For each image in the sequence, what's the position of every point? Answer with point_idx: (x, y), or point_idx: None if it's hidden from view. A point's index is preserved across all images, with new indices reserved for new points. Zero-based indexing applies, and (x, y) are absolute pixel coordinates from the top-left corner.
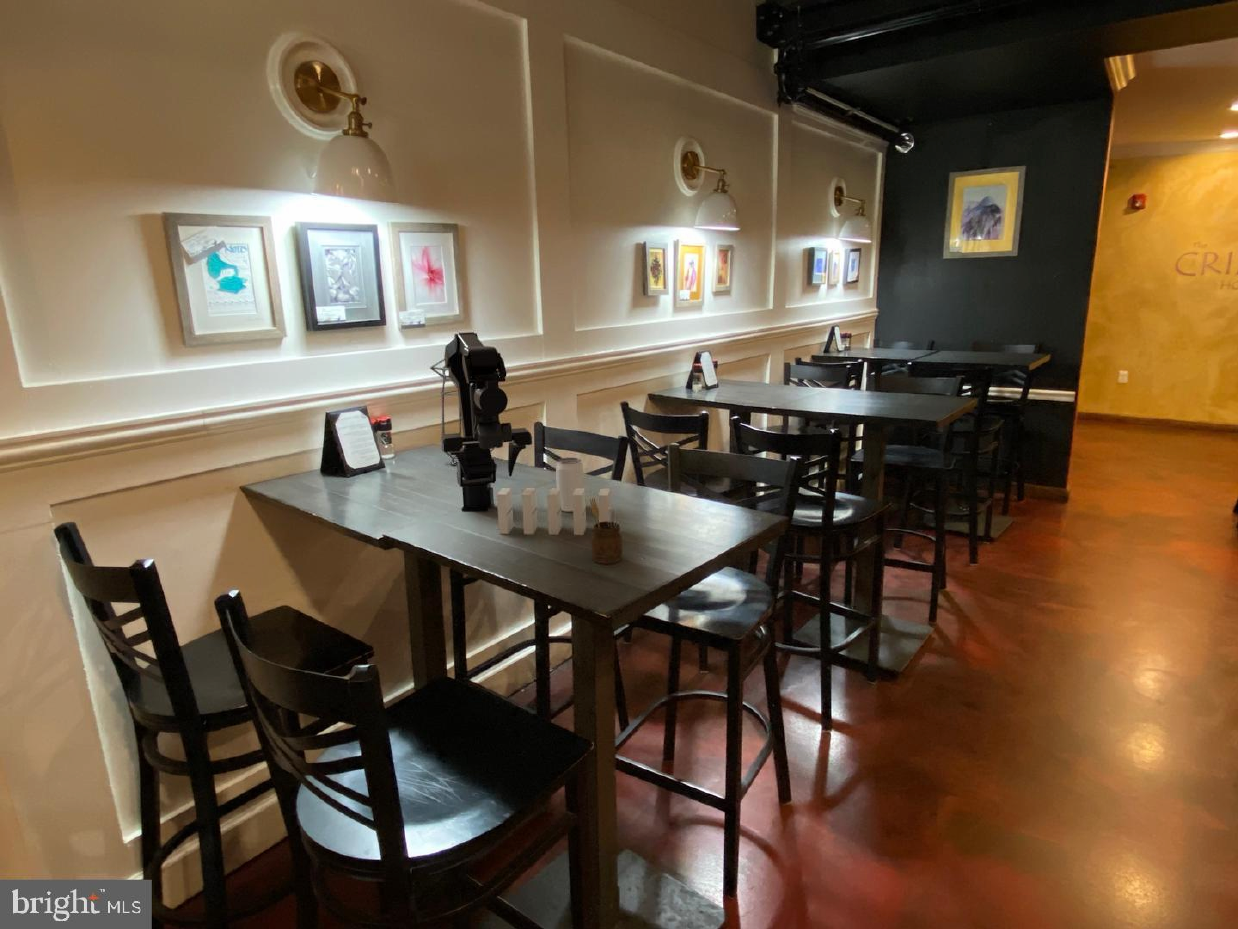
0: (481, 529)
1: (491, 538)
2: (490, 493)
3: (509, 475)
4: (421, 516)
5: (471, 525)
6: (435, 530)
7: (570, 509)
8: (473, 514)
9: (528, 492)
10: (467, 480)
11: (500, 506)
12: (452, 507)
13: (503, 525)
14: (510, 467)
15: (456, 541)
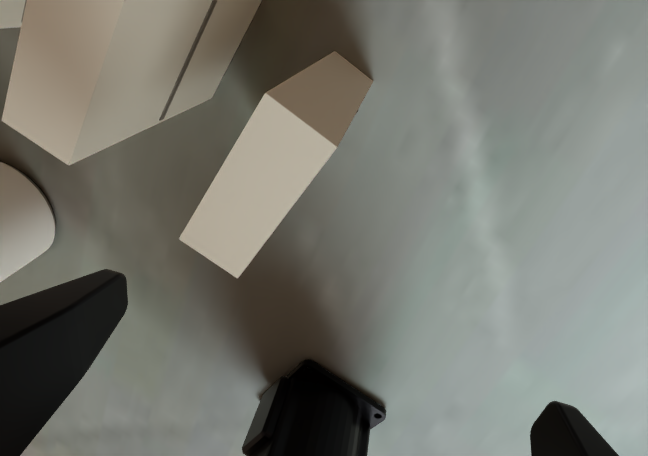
0: (417, 192)
1: (439, 32)
2: (265, 420)
3: (121, 285)
4: None
5: (429, 263)
6: (594, 299)
7: (2, 168)
8: (364, 360)
9: (62, 26)
10: (569, 405)
11: (335, 102)
12: (396, 450)
13: (345, 73)
14: (29, 324)
15: (619, 100)
